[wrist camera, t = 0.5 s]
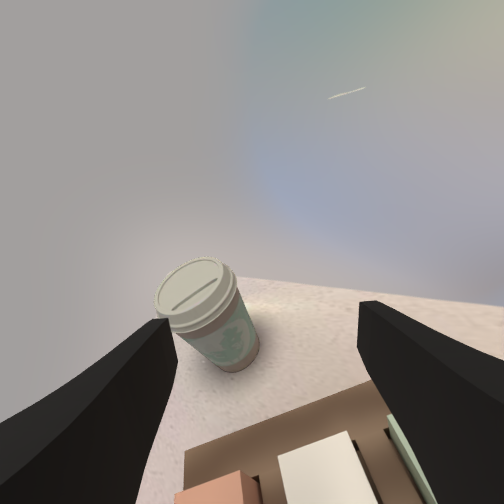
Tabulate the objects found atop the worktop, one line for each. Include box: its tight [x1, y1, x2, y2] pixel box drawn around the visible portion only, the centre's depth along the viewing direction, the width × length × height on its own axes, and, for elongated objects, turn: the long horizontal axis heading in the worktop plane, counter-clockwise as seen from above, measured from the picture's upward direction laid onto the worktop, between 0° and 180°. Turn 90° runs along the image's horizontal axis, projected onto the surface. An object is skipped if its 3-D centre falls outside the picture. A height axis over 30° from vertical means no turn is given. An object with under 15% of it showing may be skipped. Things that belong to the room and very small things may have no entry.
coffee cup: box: [154, 257, 259, 372], centre depth 29 cm, size 8×8×12 cm
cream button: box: [278, 431, 378, 504], centre depth 16 cm, size 5×5×4 cm
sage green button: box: [387, 414, 437, 504], centre depth 16 cm, size 5×5×4 cm
